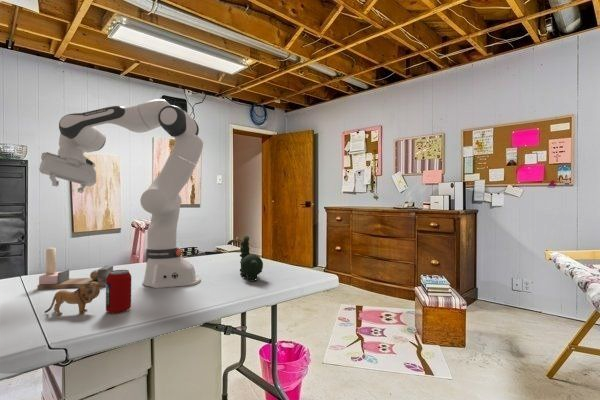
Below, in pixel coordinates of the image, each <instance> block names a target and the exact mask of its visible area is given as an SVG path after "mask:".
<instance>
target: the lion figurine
mask: <svg viewBox="0 0 600 400" xmlns="http://www.w3.org/2000/svg"><path fill="white" fill-rule="evenodd" d="M100 293H101V287H99V284H98V283H96V282H90V283H88V284H86V285H84V286H83V287H80V288H77V289H76V290H75V291H69V290H66V289H65V290H63V289H62V290H59V291H57V292H56V293H55V294H54V296H53V298H52V300H51V301H52V302H51V305H50V307H48V309H46V310H45V311H44V313H49V312H50V311H51V310H52V308H53V311H54V313H55V312H56V315H57V316H62V315H63V312H61V311H60V307H61V306H62V304H63V303H67V304H68V305H78V313H79V315H80V316H83V315H85V314H86V312H88V309H86V304H91V303H92V301H93V300H94V299H96V298H98V296H99V295H100ZM53 306H54V307H53Z"/></svg>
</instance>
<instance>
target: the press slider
mask: <svg viewBox="0 0 600 400" xmlns="http://www.w3.org/2000/svg"><path fill="white" fill-rule="evenodd" d="M56 250H57V249H56V247H47V248H45V273H43V274H42V275H39V276H38V285H39V284H58V283H62V282H64V281H66V280H68V279H70V269H69V268H67V269H64V270H61V271H56V264H57V263H56V259H57V258H56V257H57V256H56V255H57V254H56V252H57V251H56Z"/></svg>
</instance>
